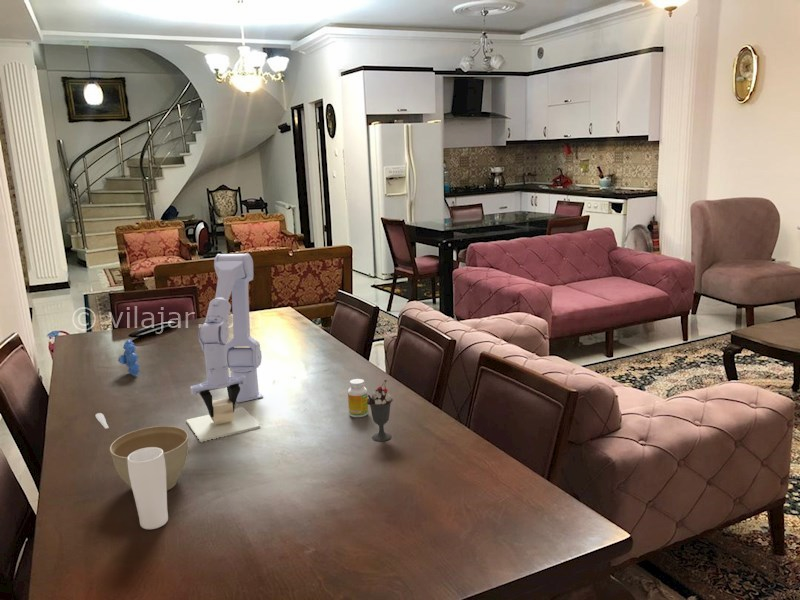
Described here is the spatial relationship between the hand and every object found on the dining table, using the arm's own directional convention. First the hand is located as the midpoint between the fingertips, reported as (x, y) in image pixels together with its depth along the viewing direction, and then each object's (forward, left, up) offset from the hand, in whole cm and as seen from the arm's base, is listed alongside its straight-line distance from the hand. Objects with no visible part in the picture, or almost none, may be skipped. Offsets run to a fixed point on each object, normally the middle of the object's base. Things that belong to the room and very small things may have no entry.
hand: (221, 413), depth 174 cm
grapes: (-61, -15, -3) cm, 63 cm away
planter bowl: (+25, -22, -3) cm, 33 cm away
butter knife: (-16, -27, -4) cm, 32 cm away
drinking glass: (+41, -25, -3) cm, 48 cm away
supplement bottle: (+15, +34, -3) cm, 37 cm away
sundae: (+32, +32, -3) cm, 45 cm away
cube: (0, 0, -2) cm, 2 cm away
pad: (0, 0, -3) cm, 3 cm away
